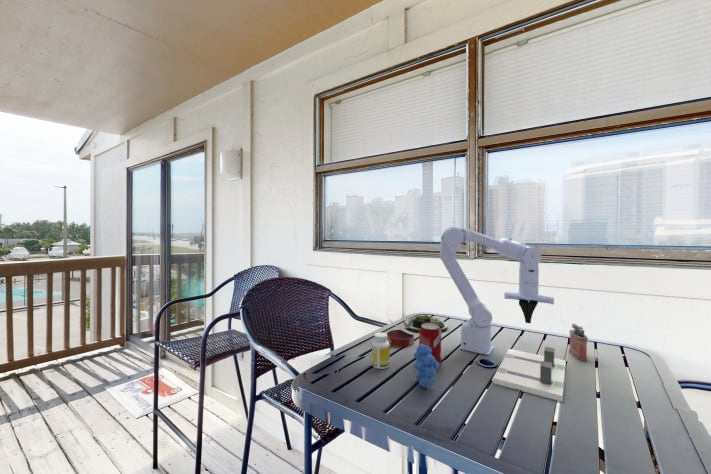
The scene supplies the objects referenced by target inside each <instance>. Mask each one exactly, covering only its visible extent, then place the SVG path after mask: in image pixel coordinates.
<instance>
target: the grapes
mask: <svg viewBox="0 0 711 474" xmlns="http://www.w3.org/2000/svg"><path fill="white" fill-rule="evenodd" d="M431 352H432V350H431V348H430V347H429V346H427V345H424V344H420V345H419V344H418V345H417V347H416V349H415V353H414V354H413V357H414V358H415V359H416V361H415V362H414V364H413V368H414V369H415V370H416V371H417V373H416V374H415V376H414V377H415V379H416V380H417V381H419V382H418V384H419V385H420V386H421V387H422V388H423V389H427V388H431V387H432V386H433V385H434V383H435V382H436V381H435V379H434V377H435V376H436V374H437V370H439V369H438V368H439V367H440V365H441V364H439V363H438V362H437V361H436V359H435V358H434V357H433V355H431Z"/></svg>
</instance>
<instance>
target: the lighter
mask: <svg viewBox="0 0 711 474" xmlns="http://www.w3.org/2000/svg"><path fill="white" fill-rule="evenodd" d="M571 328H572V329H569V350H568V353H569V355H570V356H572V357H573V358H574V359H575V360H577V361H579V362H583V361H584V363H586V362H585V361H587V362H588V357H587V356H588V355H587V351H588V340H589V338H588V336H587V335H586V334H585V329H584V328H583V326H579V325H577V324H575V323H572V324H571Z"/></svg>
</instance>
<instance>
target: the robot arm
mask: <svg viewBox="0 0 711 474" xmlns="http://www.w3.org/2000/svg"><path fill="white" fill-rule="evenodd" d="M470 242H474V243H477V244H480V245H483V246H487V247H490V248H493V249H495V250H496V253H497V254H498V255H501V256H504V257H507V258H510V259H513V260H516V261H519V267H518V268H519V269H518V271H519V272H518V292H507V291H506V292H504V294H503V295H504V296H503V298H504V299H505V300H517V301H518V304H519V308H520V309H521V311H522V314H523V317H524V322H525V324H531V322H532V317H533V314H534V312H535V309H536V307H537V305H538V304H539V303H541V304H542V303H543V304H549V305H554V304H555V297H554V296H552V297H551V296H548V295H547V296H546V295H541V294H540V295H539V282H540V281H539V280H540V279H539V277H540V276H539V275H540V274H539V273H540V272H539V264H540V262H541V261H542V258H543V256H542V254H541V252H540V250H539V249H538V248H536V247H533V246H529V245H527V243H525V242H522V243H521V242H518V241H515V240H513V238H512V237H507V238H506V237H502V238H500V239H497V238H495V237H494V238H493V237H491V236H488V235H486V234H483V233H480V232H478V231H475V230H471V229H465V228H460V227H456V226H449V227H447V228H445V229H444V231H443V232H442V234H441V236H440V246H439V247H440V248H439V258H440V260H441V262H442V263H443V265H444V267H445V269H446V270H447V272H448V274H449V276H450V277H451V279H452V281H453V282H454V284H455V286H456V288H457V289H458V292H459V293H460V294H461V296H462V298H463V300H464V301H465V303H466V305H467V308H468V313H469V315H470V316H471V317H470V318H469V320H468V321H463V322H462V325H461V330H460V350H463V351H468V352H471V353H477V354H481V355H486V356H490V355H491V353H492V352H493V350H494V349H495V346H494V345H492V321H493V314H492V312H491V311H490V310H489V309H488V308H487V306H486V304H484V303H483V302H482V301H481V300H480V298H479V297H478V295H477V293H476V291H475V290H474V288H473V286H472V285H471V283H470V281H469V279H468V277H467V276H466V274H465V272H464V271H463V268H462V267H461V265H460V264H459V262H458V260H457V258H456V253H457V250H458V248H459V247H460V245H461V244H462V243H470Z"/></svg>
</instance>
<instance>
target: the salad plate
mask: <svg viewBox="0 0 711 474" xmlns="http://www.w3.org/2000/svg"><path fill="white" fill-rule="evenodd" d="M424 323H433V324H437V325H439V329H440V331H441V333H444V332H445V331H447V330H448V327H449V326H448V324H447V323H445V322H444V321H443V320H442V319H440V318H437V317H430V316H429V314H428V315H427V314H424V315H422V314H421V313H420V314H416V315H414V317H412V318H411V317H410V318H407V319H405V324H406V325H405V328H406V329H409V331H410V330H411V331H412V332H415V333H419V330H420V328H421V325H422V324H424Z"/></svg>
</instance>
